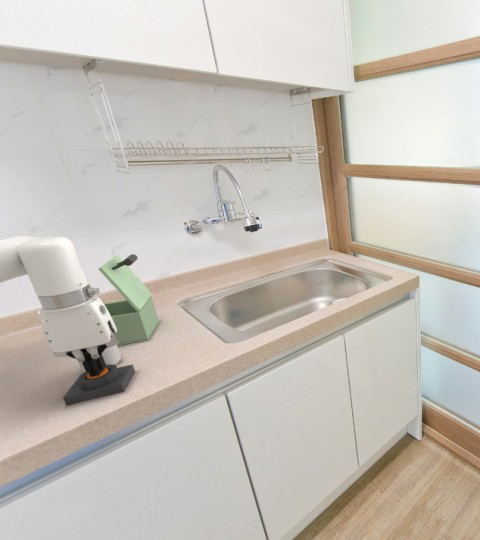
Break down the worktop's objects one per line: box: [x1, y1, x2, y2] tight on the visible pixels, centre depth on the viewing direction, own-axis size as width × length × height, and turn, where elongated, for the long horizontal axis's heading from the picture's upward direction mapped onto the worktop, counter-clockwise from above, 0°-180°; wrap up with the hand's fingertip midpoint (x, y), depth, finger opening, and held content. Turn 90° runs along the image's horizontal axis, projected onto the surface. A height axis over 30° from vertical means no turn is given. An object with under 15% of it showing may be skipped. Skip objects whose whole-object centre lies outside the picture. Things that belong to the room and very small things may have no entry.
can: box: [78, 345, 122, 373], centre depth 81 cm, size 8×8×12 cm
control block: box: [62, 364, 136, 407], centre depth 74 cm, size 10×8×4 cm
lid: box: [97, 253, 153, 312], centre depth 94 cm, size 14×13×6 cm
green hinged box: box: [103, 295, 160, 347], centre depth 96 cm, size 14×13×9 cm
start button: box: [87, 368, 108, 379], centre depth 74 cm, size 4×4×2 cm
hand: (97, 372), depth 73 cm, fingers closed
